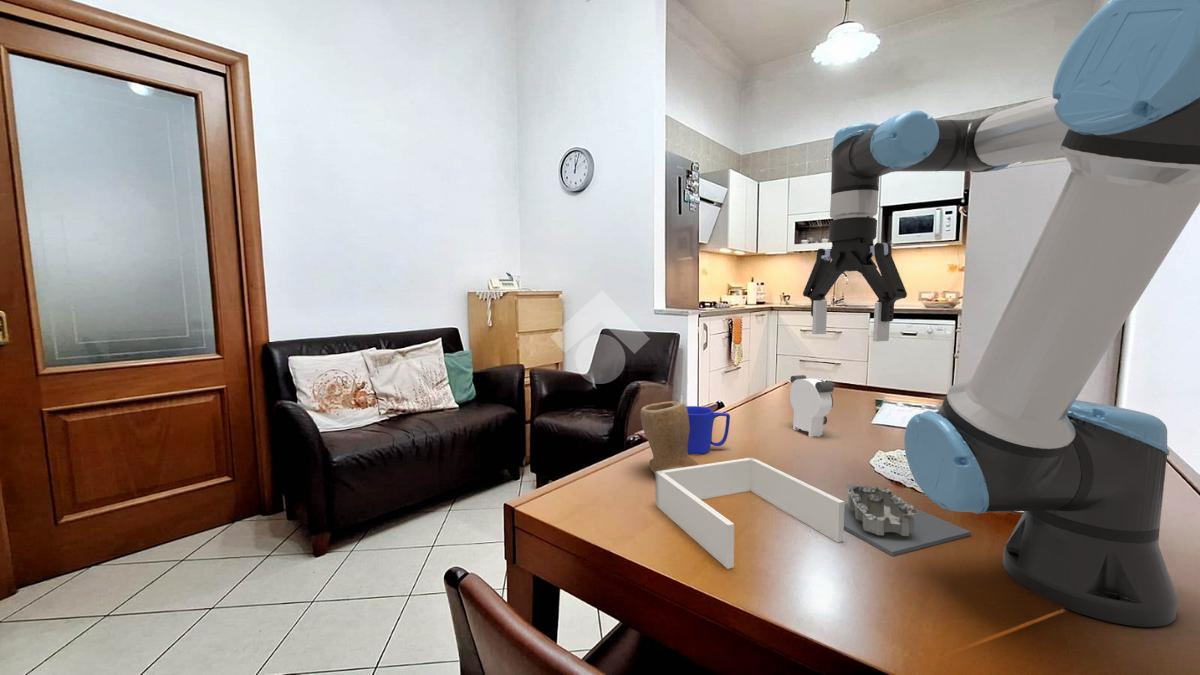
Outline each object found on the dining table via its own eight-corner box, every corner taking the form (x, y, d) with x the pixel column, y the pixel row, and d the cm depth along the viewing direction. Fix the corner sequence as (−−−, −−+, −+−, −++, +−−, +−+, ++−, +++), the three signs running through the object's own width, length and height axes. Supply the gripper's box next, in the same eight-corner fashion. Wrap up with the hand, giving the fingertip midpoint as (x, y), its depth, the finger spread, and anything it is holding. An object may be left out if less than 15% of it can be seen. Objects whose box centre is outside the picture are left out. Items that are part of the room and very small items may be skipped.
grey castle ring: (920, 538, 69) (920, 511, 68) (862, 535, 71) (861, 509, 70) (894, 504, 79) (894, 480, 79) (844, 502, 81) (843, 479, 81)
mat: (970, 535, 72) (970, 531, 72) (892, 556, 67) (892, 551, 67) (886, 499, 85) (886, 495, 85) (815, 513, 80) (815, 510, 80)
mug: (733, 458, 107) (734, 414, 107) (679, 458, 108) (679, 414, 107) (724, 446, 116) (725, 405, 115) (674, 447, 116) (674, 406, 115)
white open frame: (843, 541, 71) (844, 501, 70) (727, 568, 64) (727, 525, 63) (751, 488, 90) (752, 457, 90) (655, 505, 84) (655, 471, 83)
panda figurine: (844, 441, 119) (846, 381, 118) (806, 445, 116) (807, 383, 115) (810, 428, 131) (812, 373, 130) (774, 432, 128) (776, 375, 126)
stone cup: (636, 465, 103) (635, 396, 102) (690, 463, 105) (690, 394, 103) (650, 494, 88) (650, 413, 87) (714, 491, 90) (714, 411, 88)
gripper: (937, 208, 76) (929, 343, 78) (816, 227, 99) (812, 330, 101) (903, 206, 73) (895, 345, 75) (786, 226, 96) (783, 332, 99)
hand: (847, 337), depth 88 cm, fingers open, 13 cm apart
